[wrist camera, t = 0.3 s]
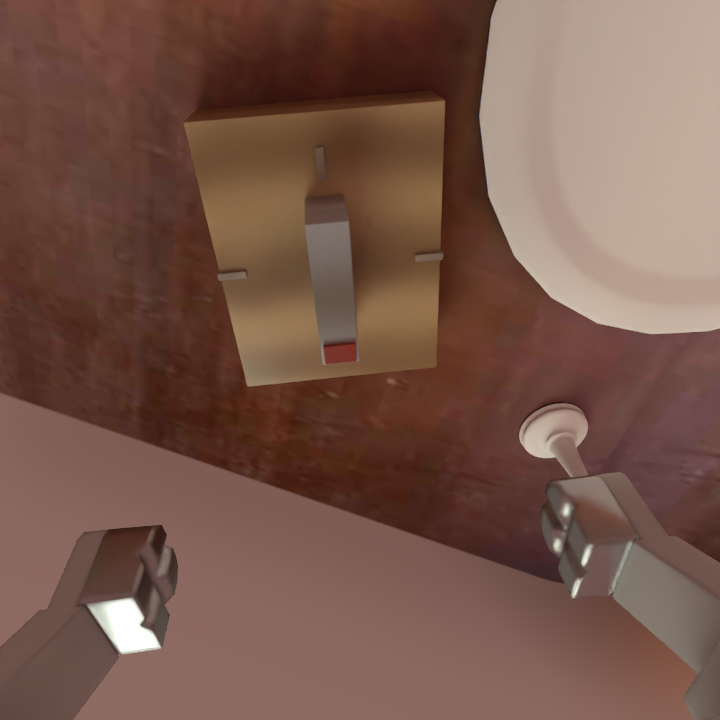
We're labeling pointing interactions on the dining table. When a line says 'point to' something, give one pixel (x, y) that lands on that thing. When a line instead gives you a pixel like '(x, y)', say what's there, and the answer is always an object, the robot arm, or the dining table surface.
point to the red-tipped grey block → (332, 277)
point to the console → (287, 225)
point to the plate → (609, 155)
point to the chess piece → (556, 435)
